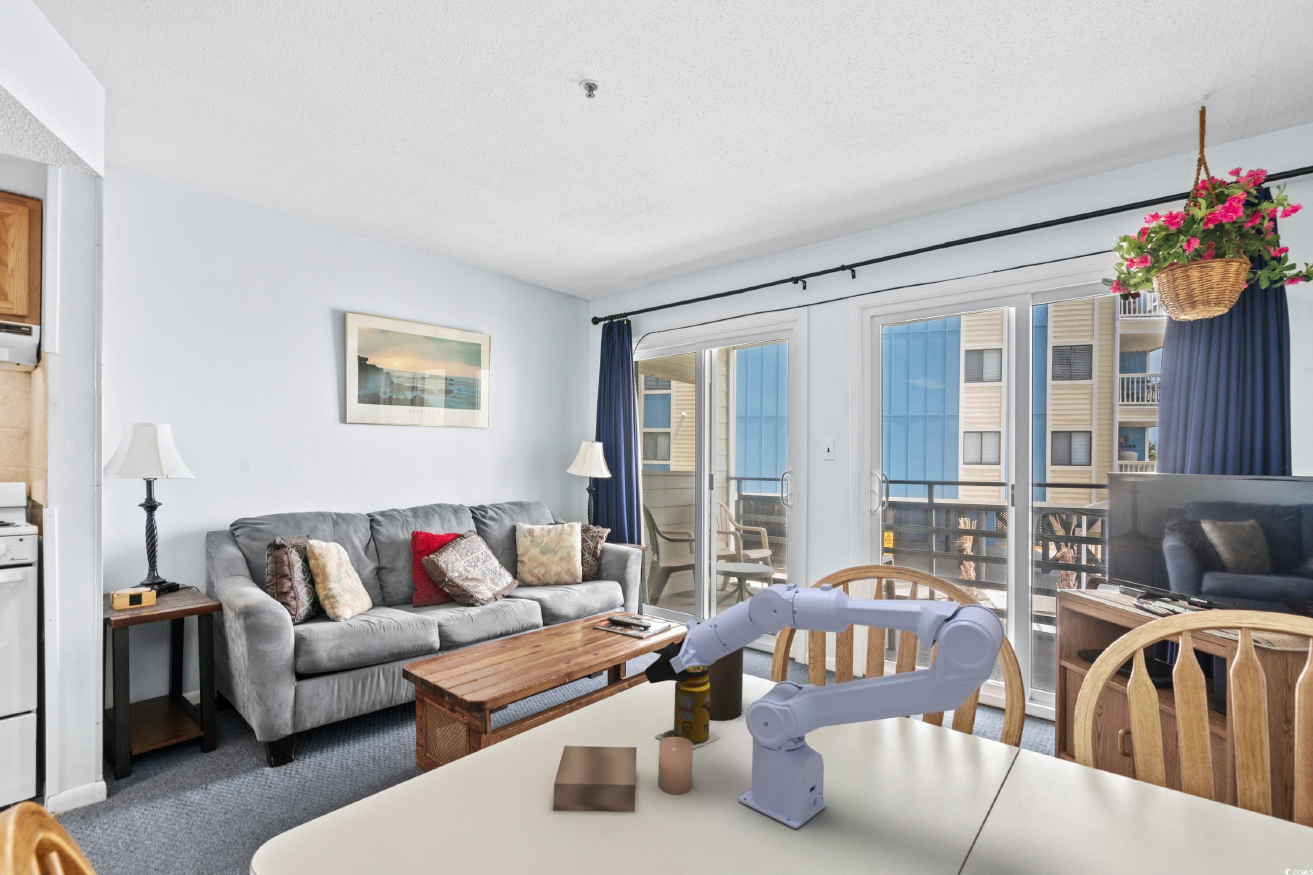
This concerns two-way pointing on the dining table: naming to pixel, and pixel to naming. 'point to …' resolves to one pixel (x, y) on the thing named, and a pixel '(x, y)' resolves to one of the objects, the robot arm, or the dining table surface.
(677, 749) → the terracotta cylinder
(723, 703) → the pillar candle
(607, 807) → the walnut block
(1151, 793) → the dining table surface
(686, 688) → the condiment
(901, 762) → the dining table surface
